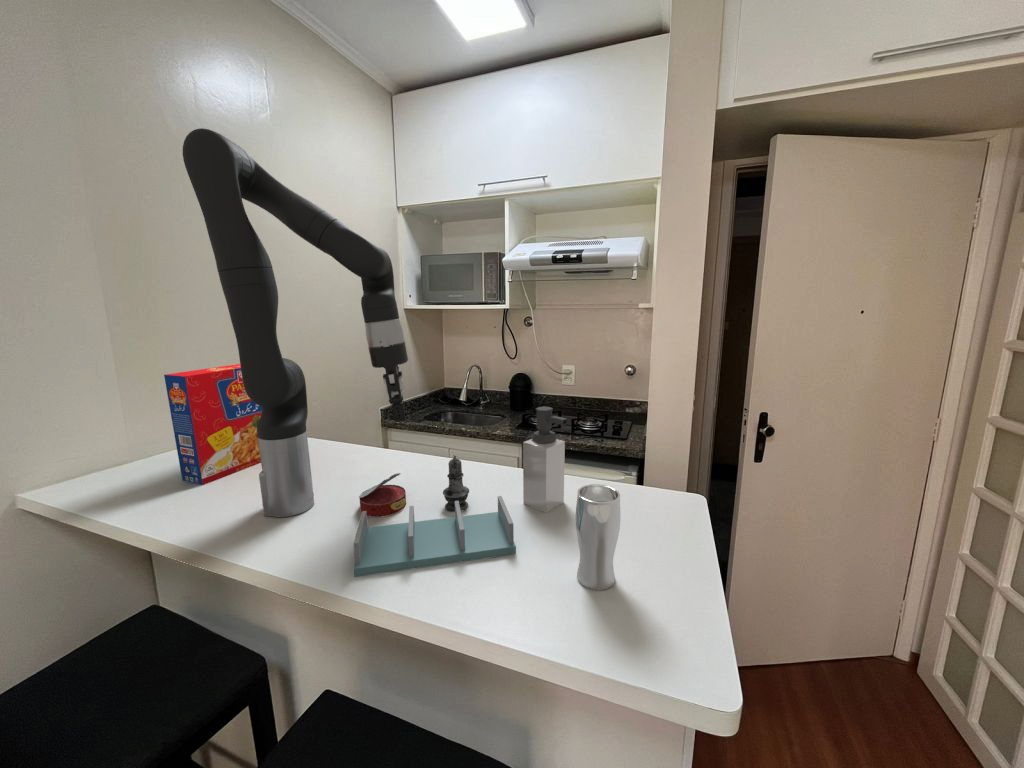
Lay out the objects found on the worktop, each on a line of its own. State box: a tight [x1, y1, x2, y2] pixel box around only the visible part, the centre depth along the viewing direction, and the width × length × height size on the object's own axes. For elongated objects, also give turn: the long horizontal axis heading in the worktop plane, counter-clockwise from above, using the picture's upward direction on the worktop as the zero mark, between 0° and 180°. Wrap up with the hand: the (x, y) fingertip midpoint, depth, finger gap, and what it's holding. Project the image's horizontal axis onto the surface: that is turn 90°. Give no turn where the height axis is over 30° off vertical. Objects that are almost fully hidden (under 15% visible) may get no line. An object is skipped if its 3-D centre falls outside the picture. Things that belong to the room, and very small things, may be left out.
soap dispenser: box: [522, 406, 568, 514], centre depth 90 cm, size 6×9×22 cm
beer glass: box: [575, 483, 622, 591], centre depth 66 cm, size 7×7×15 cm
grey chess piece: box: [442, 455, 470, 513], centre depth 91 cm, size 6×6×12 cm
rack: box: [352, 495, 517, 578], centre depth 77 cm, size 28×13×6 cm, turn 103°
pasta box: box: [163, 363, 262, 486], centre depth 115 cm, size 28×8×28 cm, turn 159°
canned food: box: [358, 472, 407, 518], centre depth 91 cm, size 11×10×10 cm
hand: (400, 416), depth 90 cm, fingers open, 8 cm apart
